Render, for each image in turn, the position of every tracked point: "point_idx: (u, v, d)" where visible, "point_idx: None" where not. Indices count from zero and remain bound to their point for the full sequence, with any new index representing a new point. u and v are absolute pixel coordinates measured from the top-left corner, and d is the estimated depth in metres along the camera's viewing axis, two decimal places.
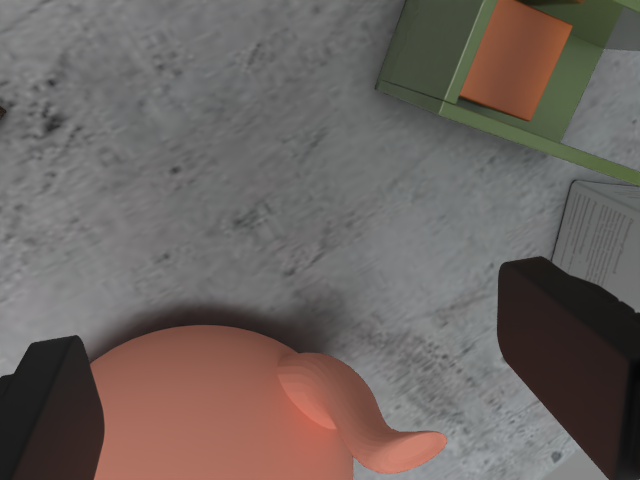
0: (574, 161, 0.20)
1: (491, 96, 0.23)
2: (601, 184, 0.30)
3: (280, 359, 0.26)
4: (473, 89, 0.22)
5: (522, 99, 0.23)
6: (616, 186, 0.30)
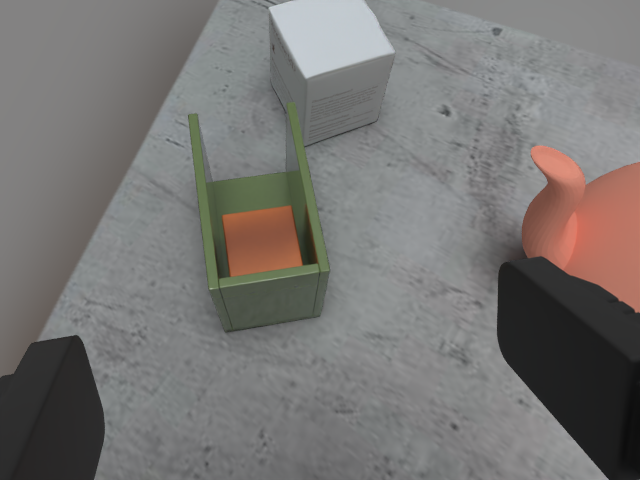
0: (307, 168, 0.29)
1: (290, 239, 0.31)
2: None
3: None
4: (293, 253, 0.31)
5: (281, 218, 0.32)
6: None
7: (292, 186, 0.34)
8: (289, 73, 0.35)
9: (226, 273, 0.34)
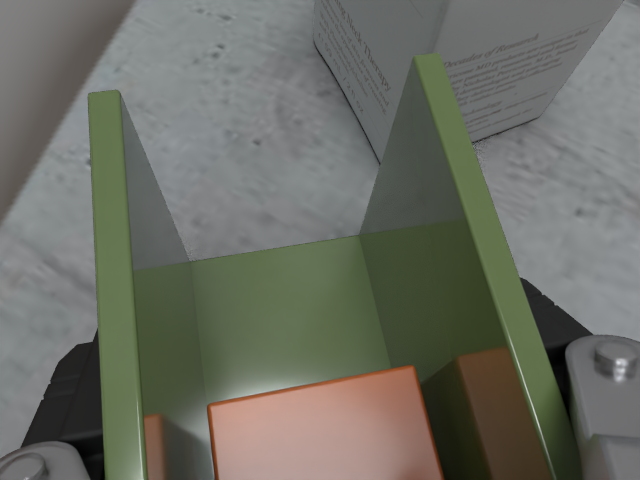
0: (521, 289, 0.08)
1: None
2: (370, 132, 0.18)
3: None
4: None
5: (389, 412, 0.10)
6: (360, 109, 0.18)
7: (396, 289, 0.13)
8: None
9: None
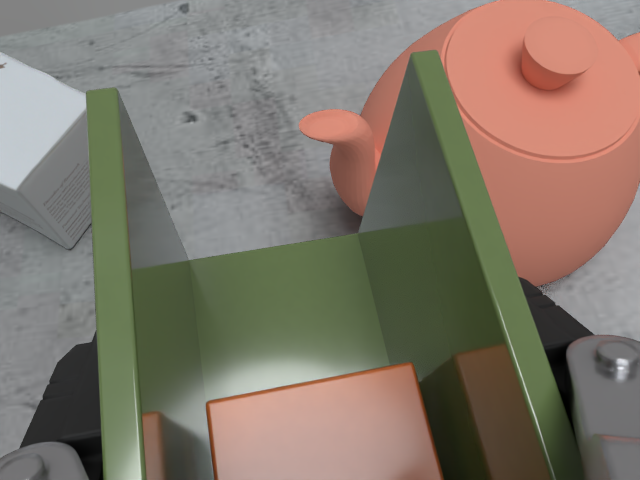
0: (519, 285, 0.08)
1: None
2: (47, 236, 0.32)
3: None
4: None
5: (388, 409, 0.10)
6: (34, 228, 0.32)
7: (394, 286, 0.13)
8: None
9: None
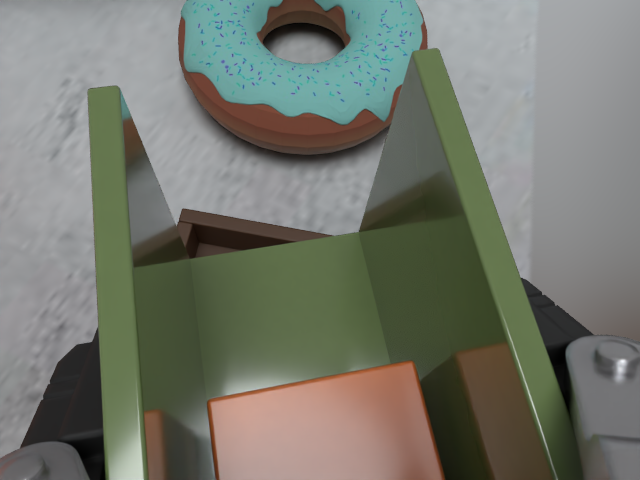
0: (520, 283, 0.08)
1: None
2: None
3: None
4: None
5: (389, 407, 0.10)
6: None
7: (395, 285, 0.13)
8: None
9: None
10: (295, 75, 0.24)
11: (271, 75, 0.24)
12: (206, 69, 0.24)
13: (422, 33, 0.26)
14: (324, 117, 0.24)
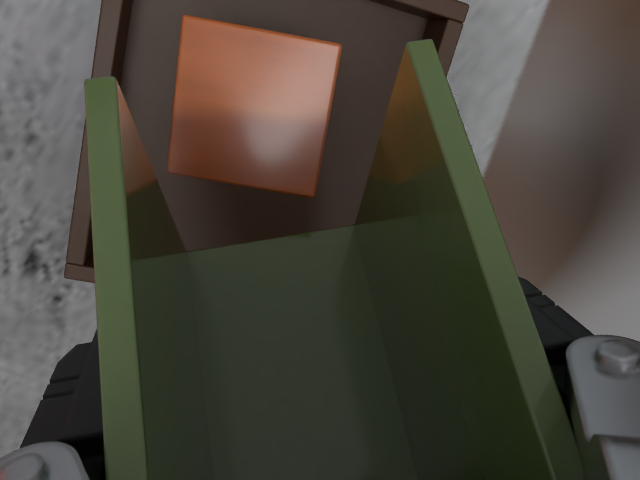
0: (513, 269, 0.08)
1: None
2: None
3: None
4: None
5: None
6: None
7: (391, 276, 0.13)
8: None
9: None
10: None
11: None
12: None
13: None
14: None
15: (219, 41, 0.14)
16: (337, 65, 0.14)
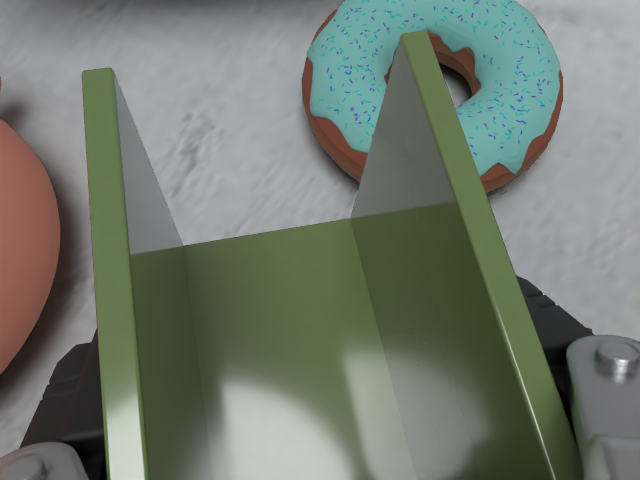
0: (506, 256, 0.08)
1: None
2: None
3: None
4: None
5: None
6: None
7: (387, 268, 0.13)
8: None
9: None
10: None
11: None
12: (333, 115, 0.24)
13: (559, 80, 0.25)
14: None
15: None
16: None
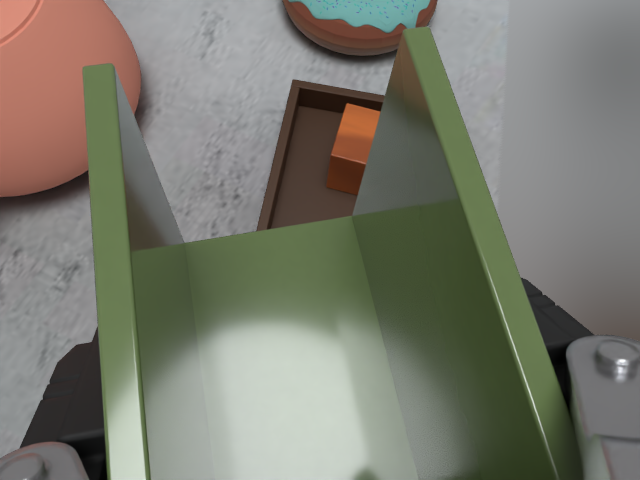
0: (509, 253, 0.08)
1: None
2: None
3: None
4: None
5: None
6: None
7: (388, 265, 0.13)
8: None
9: None
10: (358, 2, 0.39)
11: (344, 1, 0.39)
12: None
13: None
14: (376, 28, 0.39)
15: (360, 112, 0.35)
16: None
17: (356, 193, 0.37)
